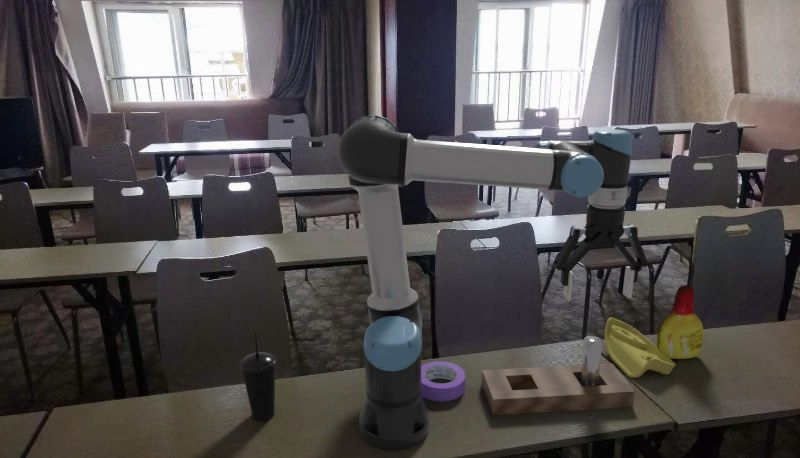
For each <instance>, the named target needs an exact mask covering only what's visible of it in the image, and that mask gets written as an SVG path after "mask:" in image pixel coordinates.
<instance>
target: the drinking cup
mask: <svg viewBox="0 0 800 458" xmlns="http://www.w3.org/2000/svg"><path fill="white" fill-rule="evenodd" d="M253 342H254V343H253V344H254V349H255V350H254V353H250V354H247V355H246V356H244V357H242V359H241V360H240V362H239V367H240V370H241V371H242V375H243V380H244V384H245V389H246V393H247V398H248V401H249V407H250V411H251V415H252V418H253V420H255V421H256V422H265V421H268V420H270V419H272V418H274V415H275V406H276V405H275V400H276V399H275V397H276V396H275V394H276V388H275V387H276V385H275V384H276V383H275V382H276V364H277V357H276V356H275V355H274V354H272V353H271V352H265V351H259V350H260V349H259V342H258V334H257V333H254V334H253Z"/></svg>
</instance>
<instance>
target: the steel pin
mask: <svg viewBox="0 0 800 458" xmlns="http://www.w3.org/2000/svg"><path fill="white" fill-rule="evenodd" d="M582 344H583V345H582V346H583V347H582V355H581V356H582V357H581V364H580V365H581V376H580V385H581V386H582V387H583V386H598V380H599V370H600V364H601V359H602V349H603V339H602V338H600V337H598V336H594V335H586V336H585V337H584V338H583V343H582Z"/></svg>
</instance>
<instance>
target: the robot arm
mask: <svg viewBox="0 0 800 458" xmlns="http://www.w3.org/2000/svg"><path fill="white" fill-rule="evenodd" d="M337 156H338V157H337V159H338V161H339V164H340V166H341V168H342V169H343V170H344V172H345V173H346V174H347V176H348V182H349V186H350V187H351V188H353V189H354V190H356V191H357V194H358V202H359V208H360V209H359V210H360V216H361V222H362V229H363V235H364V242H365V243H364V244H365V248H366V249H365V250H366V258H367V263H368V272H369V276H370V277H369V278H370V286H371V291H372V293H371V294H370V295H369V296H368V298H367V300H366V303H367V304H366V305H367V311H368V312H367V313H368V318H369V325H368V327H367V328H366V330H365V334H364V339H363V342H362V343H363V351H364V353H363V354H364V368H365V369H364V370H365V373H364V374H365V392H366V393H365V394H366V395H365V398H364V402H363V405H362V408H361V411H360V414H359V419H358V421H359V422H358V423H359V424H358V427H359V428H358V429H359V433H360V435H361V437H362V438H363V440H365V442H367V443H368V444H370V445H372V446H373V447H377V448H380V449H384V450H401V449H403V450H404V449H406V448H410V447H414V446H415V445H417V444H419V443H421V442H422V441H423V440H425V438H426V437H427V435H428V434H429V431H430V414H429V412H428V409H427V406H426V404H425V401H424V399H423V398H424V397H423V396H422V395H421V366H422V348H423V347H422V346H423V338H422V335H423V331H422V330H423V320H424V319H423V314H422V313H423V312H422V311H421V308H420V303H419V295H418V293H417V291H416V290H415V289H413V288H411V283H410V276H409V267H408V266H409V265H408V259H407V252H406V251H407V250H406V244H405V234H404V226H403V219H402V218H403V217H402V210H401V203H400V202H401V201H400V194H399V193H400V192H399V186H407V185H408V184H410V183H411V182H412V181H417V182H419V181H420V182H430V183H431V182H432V183H434V182H435V183H446V184H448V183H449V184H461V185H472V186H474V185H475V186H485V187H487V186H492V187H499V188H500V187H502V188H503V187H504V188H517V189H530V190H531V189H533V190H546V191H555V192H565V193H567V194H568V195H570V196H573V197H576V198H587V201H588V204H587V206H586V220H585V223H586V224H585V226H584V227H577V226H576V225H572V226H571V227H570V229H569V235H568V237H567V239H566V240H565V242H564V243H563V246H562V247H561V249H560V251H559V253H558V254H557V256H556V257H555V259H554V261H553V263H552V265H553V267H554V268H555V269H556V270H557V271H560V283H561V285H562V286H563V298H565V300H566V301H567V302H571V301H572V292H573V281H574V280H573V279H574V273H573V271H572V270H573V269H574V268H575V266H577V264H579V262H580V261H581V260H582V259H583V258H584V257H585V256H586V255H587V254H588V253H589V252H590V251H592V250H593V249H594V248H596V249H601V248H607V249H609V248H611V249H612V247H615V249H616V250H617V251H618V253H620V255H621V257H622V258H623V259H624V260H625V261H626V263H627V264H628V265H629V266H628V265H627V266H625V271H624V279H623V289H622V294H623V296H625V297H626V298H627V299H632V296H633V288H634V284H636V283H637V281H638V276H639V272H640V271H642V268H643V267H644V268H646V267H648V266H649V262H648V260H647V257H646V254H645V252H644V249H643V247H642V245H641V242H640V239H639V237H638V236H639V235H638V232H639V231H638V230H639V229H638V227H637V226H635V225H634V224H632V223H628V224H627V225H625V226H624V222H625V215H626V208H625V205H626V203H627V195H628V187H629V186H628V183H629V175H630V168H631V167H630V166H631V159H632V156H633V136H632V133H630V132H629V131H627V130H623V129H616V128H615V129H613V128H611V129H610V128H609V129H598V130H596V131H594V133H593V136H592V139H589V140H553V139H550V140H543V141H542V140H540V141H537V142H535V144H534V146H533V147H524V146H522V147H520V146H511V145H510V146H507V145H493V144H484V143H483V144H482V143H481V144H480V143H467V142H456V141H455V142H454V141H443V140H442V141H440V140H427V139H416V138H415V137H414V136H413V135H412V134H411V133H407V132H399V129H398V128H397V126H396V125H395V124H394V123H393V122H392V121H391V120H389V118H386V117H383V116H381V115H377V114H375V115H373V114H372V115H366V116H362V117H360V118H358V119H356V120H355V121H353V122H352V123H351V124H350V126H349V127H348V128H347V129H346V130H345V131H344V133H342V135H341V137H340V140H339V143H338V148H337ZM583 235H585V237H584V239H582V241H581V243H580V244H579V246H577V248H576V249H575V247H576V245H577V244H578V242H579V239H581V238H582V236H583ZM623 235H626V236H627V238H628V241H629V243H630V246H631V248H632V252H633V253H634V257H635V258H636V259H635V258H634V257H633V256H632V254H631V253H630V252H629V251H628V249H627V248H626V247H625V245H624V243H623V242H622V241H621V240H620V239H621V237H622V236H623Z"/></svg>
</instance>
